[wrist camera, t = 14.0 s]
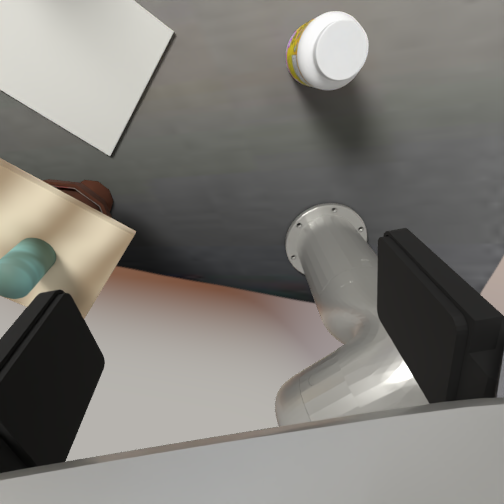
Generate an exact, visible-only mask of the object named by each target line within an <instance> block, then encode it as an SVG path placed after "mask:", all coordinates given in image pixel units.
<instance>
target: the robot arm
mask: <svg viewBox="0 0 504 504" xmlns="http://www.w3.org/2000/svg"><path fill="white" fill-rule="evenodd" d="M332 208H334V209H333V210H332ZM298 223H300V224H298ZM359 227H360V228H359ZM285 247H286V252H287V256H288V258H289V261H290V262H291V264H292V265H293V266H294V267H295V268H296V269H297V270H298V271H299V272H301V273H303V274H305V276H306V279H307V281H308V284H309V287H310V289H311V292H312V295H313V298H314V300H315V303H316V305H317V308H318V311H319V313H320V316H321V319H322V321H323V323H324V325H325V327H326V328H327V330H328V331H329V333H331V335H333V336H334V337H335V338H336V339H337V340H338V341H340V342H341V343H343V344H344V345H343V346H341V347H340V348H338V349H337V350H336V351H334V352H333V353H331V354H329V355H328V356H326V357H324V358H323V359H321V360H319V361H318V362H316V363H314V364H313V365H311V366H309V367H308V368H306V369H304V370H303V371H301V372H300V373H298V374H296V375H295V376H293V377H292V378H290V379H289V380H288V381H287V382H285V383H284V384H283V386H282V387H281V388H280V390H279V391H278V393H277V396H276V401H275V412H276V418H277V422H278V425H279V427H273V428H267V429H261V430H254V431H249V432H242V433H236V434H230V435H224V436H218V437H211V438H205V439H199V440H193V441H187V442H181V443H175V444H169V445H163V446H157V447H150V448H144V449H138V450H132V451H127V452H120V453H115V454H108V455H103V456H97V457H91V458H85V459H79V460H73V461H67V462H65V461H66V458H67V456H68V453H69V451H70V449H71V446H72V444H73V441H74V439H75V437H76V434H77V432H78V429H79V427H80V424H81V422H82V420H83V417H84V415H85V412H86V410H87V408H88V405H89V402H90V400H91V398H92V395H93V393H94V390H95V388H96V386H97V383H98V381H99V378H100V376H101V373H102V371H103V369H104V364H105V362H104V357H103V354H102V352H101V351H100V349H99V347H98V345H97V343H96V341H95V339H94V337H93V336H92V334H91V332H90V330H89V328H88V326H87V324H86V322H85V320H84V319H83V317H82V315H81V313H80V311H79V309H78V307H77V305H76V303H75V302H74V300H73V298H72V296H71V295H70V294H69V293H65V292H64V291H63V290H60V289H59V290H54V291H48V292H42V293H39V294H38V295H37V296H36V297H35V298H34V300H33V301H32V302H31V303H30V304H29V306H28V307H27V308H26V309H25V310H24V312H23V313H22V314H21V315H20V316H19V318H18V319H17V320H16V321H15V322H14V324H13V325H12V326H11V327H10V328H9V329H8V331H7V332H6V333H5V334H4V336H3V337H2V338H1V339H0V504H504V316H503V315H502V314H501V313H500V312H499V311H497V310H496V309H495V308H494V307H493V306H492V305H491V304H490V303H489V302H488V301H487V300H485V299H484V298H483V297H482V296H481V295H480V294H479V293H478V292H477V291H475V290H474V289H473V288H472V287H471V286H470V285H469V284H468V283H467V282H466V281H464V280H463V279H462V278H461V277H460V276H459V275H458V274H457V273H456V272H455V271H453V270H452V269H451V268H450V267H449V266H448V265H447V264H446V263H445V262H443V261H442V260H441V259H440V258H439V257H438V256H437V255H436V254H435V253H433V252H432V251H431V250H430V249H429V248H428V247H427V246H426V245H425V244H424V243H422V242H421V241H420V240H419V239H418V238H417V237H416V236H415V235H414V234H413V233H411V232H410V231H409V230H408V229H406V228H403V229H397V230H392V231H386V232H385V233H384V237H380V238H379V240H378V256H377V255H376V254H375V253H374V251H373V250H372V249H371V247H370V246H369V245H368V244H367V230H366V227H365V224H364V222H363V220H362V219H361V217H360V216H359V215H358V214H357V213H356V212H355V211H354V210H352V209H351V208H349V207H347V206H345V205H341V204H337V203H325V204H319V205H316V206H313V207H311V208H309V209H307V210H305V211H304V212H303V213H301V214H300V215H299V216H298V217H297V218H296V219H295V220H294V221H293V223H292V224H291V226H290V228H289V230H288V232H287V235H286V241H285ZM293 255H294V256H293Z"/></svg>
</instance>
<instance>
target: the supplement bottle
mask: <svg viewBox="0 0 504 504" xmlns="http://www.w3.org/2000/svg"><path fill="white" fill-rule="evenodd" d="M367 54H368V38H367V35H366V33H365V31H364V29H363V28H362V27H361V25H360V24H359V23H358V21H357V20H356V19H355V18H353V17H352V16H351V15H349V14H347V13H344V12H340V11H332V12H327V13H324V14H322V15H320V16H318V17H316V18H315V19H313V20H311V21H309V22H307V23H306V24H304V25H302V26H301V27H300V28H298V29H297V30H296V31H295V32H294V34H293V35H292V37H291V38H290V40H289V43H288V46H287V50H286V64H287V67H288V70H289V72H290V74H291V75H292V77H293V78H294V79H295V80H296V81H297V82H299V83H301V84H303V85H306V86H309V87H314V88H317V89H321V90H335V89H338V88H341V87H343V86H345V85H346V84H348V83H349V82H350V81H351V80H353V78H354V77H355V76H356V75H357V74H358V72H359V70H360V69H361V68H362V66H363V65H364V63H365V61H366V58H367Z"/></svg>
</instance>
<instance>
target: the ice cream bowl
mask: <svg viewBox="0 0 504 504" xmlns="http://www.w3.org/2000/svg"><path fill="white" fill-rule="evenodd" d="M43 182H45V183H47V184H49V185H51V186H53V187H55V188H56V189H58V190H60V191H62V192H64V193H66V194H68V195H69V196H71V197H73V198H75V199H77V200H79V201H81V202H83V203H84V204H86V205H88V206H90V207H92V208H94V209H96V210H97V211H99V212H101V213H103V214H105V215H107V216H109V217H110V218H112V216H111V214H110V211H111V207H112V204H113V199H112V196H111V194H110V191H109V189H107V188H106V187H105V186H103V185H102V184H101V183H99V182H98V181H89V180H84V181H82V182H81V183H78V182H69V181H59V180H50V179H48V180H43Z"/></svg>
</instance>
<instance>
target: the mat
mask: <svg viewBox="0 0 504 504" xmlns="http://www.w3.org/2000/svg"><path fill="white" fill-rule="evenodd" d="M173 33H174V31H172V30H171V29H170V28H169V27H167V26H166V25H165V24H163V23H162V22H161V21H160V20H158V19H157V18H156V17H155V16H153V15H152V14H151V13H149V12H148V11H147V10H146V9H144V8H143V7H142V6H140V5H139V4H138V3H137V2H135V1H134V0H0V90H2V91H3V92H5V93H7V94H8V95H10V96H11V97H13V98H15V99H16V100H18V101H20V102H21V103H23V104H25V105H26V106H28V107H30V108H31V109H33V110H35V111H36V112H38V113H39V114H41V115H43V116H44V117H46V118H48V119H49V120H51V121H53V122H54V123H56V124H58V125H59V126H61V127H63V128H64V129H66V130H67V131H69V132H71V133H72V134H74V135H76V136H77V137H79V138H81V139H82V140H84V141H86V142H87V143H89V144H91V145H92V146H94V147H96V148H97V149H99V150H100V151H102V152H104V153H105V154H107V155H109V156H111V154H112V152H113V150H114V148H115V146H116V144H117V142H118V141H119V139H120V137H121V135H122V133H123V131H124V129H125V127H126V125H127V123H128V121H129V119H130V117H131V115H132V113H133V111H134V109H135V107H136V105H137V104H138V102H139V100H140V98H141V96H142V94H143V92H144V90H145V88H146V86H147V84H148V82H149V80H150V78H151V76H152V74H153V72H154V70H155V68H156V67H157V65H158V63H159V61H160V59H161V57H162V55H163V53H164V51H165V49H166V47H167V45H168V43H169V41H170V39H171V37H172V35H173Z"/></svg>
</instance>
